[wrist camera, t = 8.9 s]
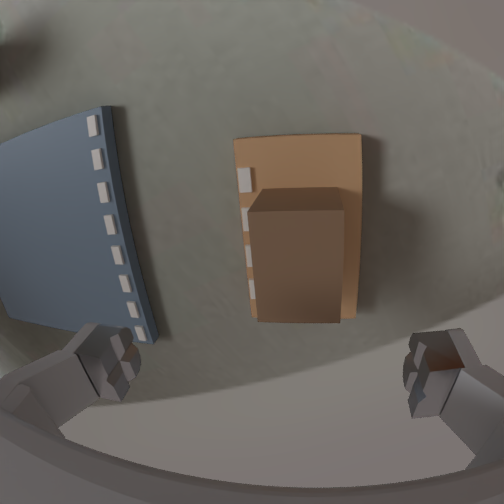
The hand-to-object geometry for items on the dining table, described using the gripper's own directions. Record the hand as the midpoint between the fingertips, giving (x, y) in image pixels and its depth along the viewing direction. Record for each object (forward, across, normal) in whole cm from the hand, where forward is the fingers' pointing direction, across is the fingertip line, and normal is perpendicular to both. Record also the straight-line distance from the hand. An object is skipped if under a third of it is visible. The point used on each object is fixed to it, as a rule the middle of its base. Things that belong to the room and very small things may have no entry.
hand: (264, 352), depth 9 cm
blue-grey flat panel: (+10, +19, 0) cm, 21 cm away
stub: (+10, -1, 0) cm, 10 cm away
